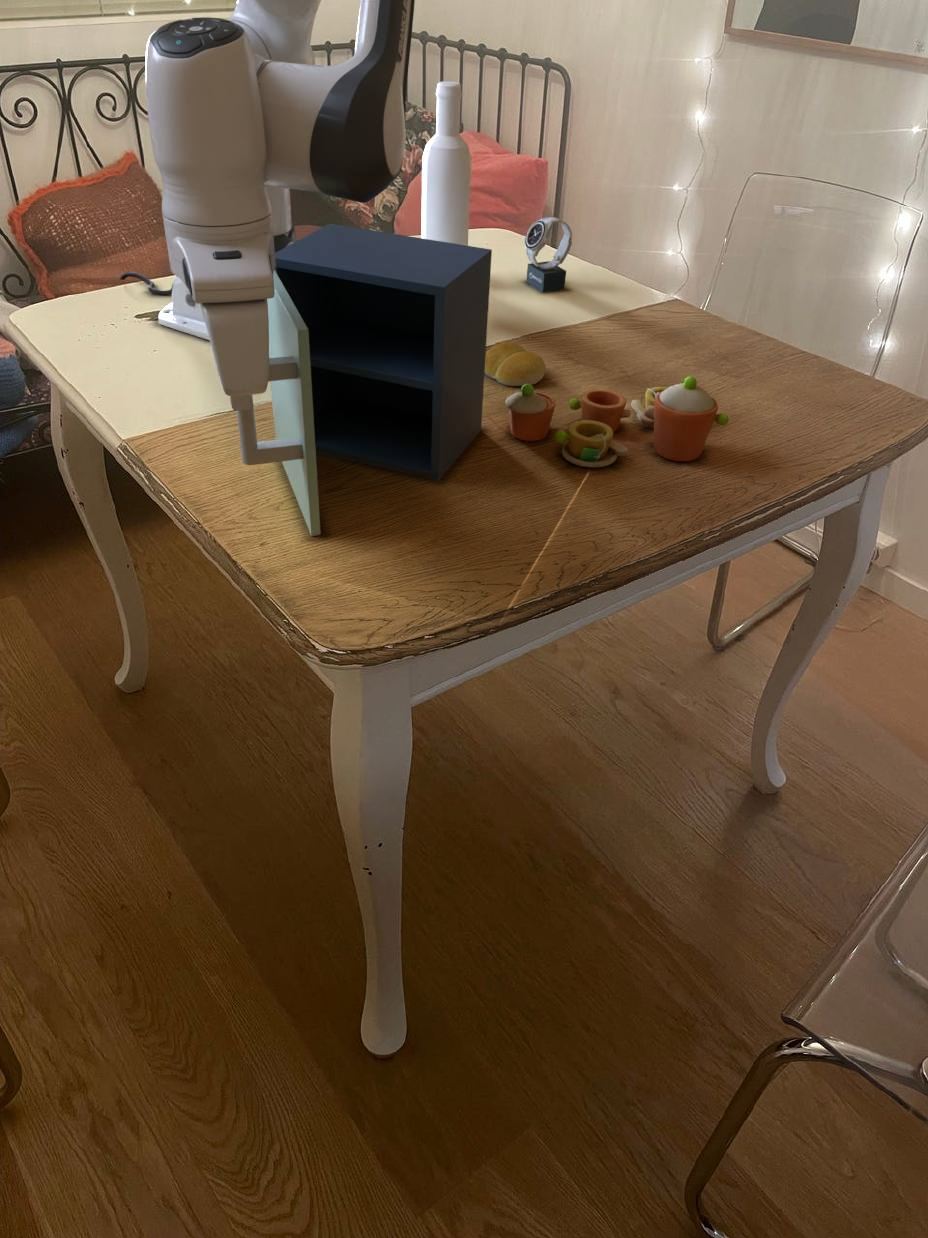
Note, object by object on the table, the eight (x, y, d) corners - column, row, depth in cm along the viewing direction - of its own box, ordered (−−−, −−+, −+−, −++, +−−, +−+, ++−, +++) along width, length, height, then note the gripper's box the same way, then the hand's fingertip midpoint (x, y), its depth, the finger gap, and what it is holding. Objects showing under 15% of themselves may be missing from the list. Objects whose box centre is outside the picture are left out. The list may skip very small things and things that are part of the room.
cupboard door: (254, 544, 95) (230, 335, 81) (226, 453, 110) (202, 263, 96) (320, 534, 97) (308, 329, 83) (284, 446, 111) (269, 259, 98)
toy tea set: (679, 406, 125) (693, 336, 119) (733, 462, 113) (752, 387, 108) (491, 421, 119) (496, 348, 114) (528, 481, 108) (535, 403, 102)
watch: (516, 283, 162) (521, 216, 155) (556, 278, 165) (562, 212, 158) (532, 293, 158) (538, 225, 151) (573, 288, 161) (580, 221, 154)
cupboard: (438, 481, 107) (444, 287, 93) (283, 445, 112) (267, 256, 98) (481, 430, 117) (491, 249, 104) (337, 399, 122) (330, 223, 109)
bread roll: (514, 393, 126) (517, 365, 124) (471, 371, 132) (472, 343, 129) (558, 378, 131) (561, 351, 128) (514, 357, 136) (516, 330, 133)
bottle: (476, 283, 161) (486, 84, 142) (445, 294, 156) (451, 88, 137) (441, 272, 165) (447, 76, 146) (410, 282, 160) (412, 81, 141)
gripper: (174, 215, 86) (195, 359, 95) (192, 289, 71) (215, 453, 80) (244, 212, 88) (258, 354, 96) (276, 284, 73) (290, 445, 81)
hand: (239, 400), depth 88 cm, fingers closed on cupboard door, 2 cm apart
